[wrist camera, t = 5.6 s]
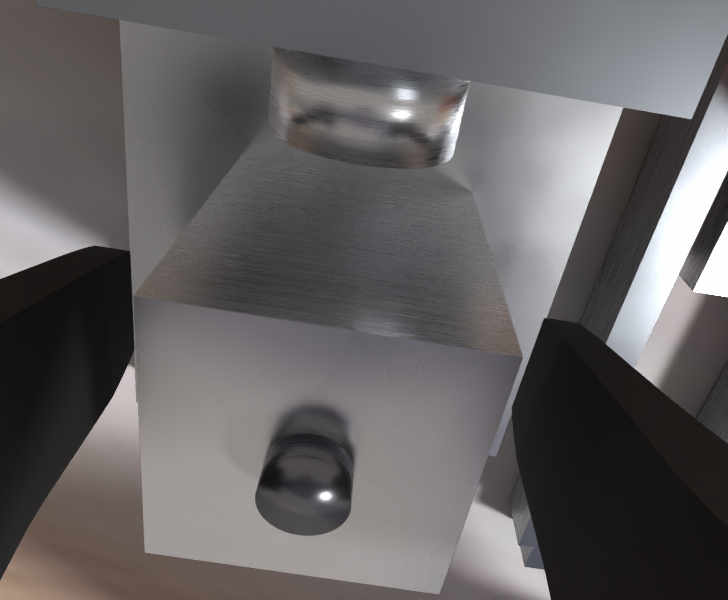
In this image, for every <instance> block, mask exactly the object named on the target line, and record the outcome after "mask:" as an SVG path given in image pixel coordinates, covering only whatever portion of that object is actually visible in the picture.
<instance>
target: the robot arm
mask: <svg viewBox="0 0 728 600" xmlns="http://www.w3.org/2000/svg"><path fill="white" fill-rule="evenodd" d="M134 350H135V346H134V323H133V301H132V278H131V255H130V251H125V250H119V249H113V248H106V247H100V246H91V247H87V248H83V249H80V250H77V251H74V252H71V253H68V254H65V255H63V256H60V257H57V258H54V259H52V260H49V261H46V262H44V263H41V264H39V265H36V266H33V267H31V268H28V269H26V270H23V271H20V272H18V273H15V274H13V275H10V276H7V277H5V278H2V279H0V580H1V578H2V576H3V574H4V572H5V570H6V568H7V566H8V564H9V563H10V561H11V559H12V557H13V555H14V553H15V551H16V549H17V547H18V545H19V543H20V541H21V540H22V538H23V536H24V534H25V532H26V530H27V528H28V526H29V525H30V523H31V521H32V520H33V518H34V516H35V515H36V513H37V511H38V510H39V508H40V506H41V505H42V503H43V501H44V500H45V498H46V497H47V495H48V494H49V492H50V491H51V489H52V488H53V486H54V485H55V483H56V482H57V480H58V479H59V477H60V476H61V474H62V473H63V471H64V470H65V468H66V467H67V465H68V464H69V462H70V461H71V459H72V458H73V456H74V455H75V453H76V452H77V450H78V449H79V447H80V446H81V444H82V443H83V441H84V440H85V438H86V437H87V435H88V434H89V432H90V431H91V429H92V428H93V426H94V425H95V423H96V422H97V420H98V419H99V417H100V416H101V414H102V413H103V411H104V409H105V408H106V406H107V405H108V403H109V402H110V400H111V398H112V397H113V395H114V393H115V391H116V389H117V387H118V385H119V383H120V381H121V379H122V377H123V374H124V372H125V370H126V368H127V366H128V363H129V361H130V359H131V357H132V354H133V352H134ZM512 420H513V431H514V441H515V449H516V458H517V462H518V466H519V470H520V475H521V479H522V483H523V487H524V491H525V495H526V499H527V503H528V507H529V511H530V515H531V518H532V522H533V526H534V530H535V534H536V538H537V542H538V546H539V550H540V554H541V558H542V561H543V565H544V569H545V573H546V578H547V582H548V587H549V592H550V597H551V600H728V443H727V442H725V441H724V440H723V439H721V438H720V437H719V436H717V435H716V434H715V433H713V432H712V431H711V430H709V429H708V428H707V427H705V426H704V425H703V424H702V423H700V422H699V421H698V420H696V419H695V418H694V417H692V416H691V415H690V414H689V413H687V412H686V411H685V410H683V409H682V408H681V407H680V406H679V405H677V404H676V403H675V402H674V401H672V400H671V399H670V398H669V397H667V396H666V395H665V394H664V393H663V392H661V391H660V390H659V389H658V388H657V387H655V386H654V385H653V384H652V383H651V382H650V381H648V380H647V379H646V378H645V377H644V376H642V375H641V374H640V373H639V372H638V371H637V370H635V369H634V368H633V367H632V366H631V365H630V364H628V363H627V362H626V361H625V360H624V359H623V358H622V357H620V356H619V355H618V354H617V353H616V352H615V351H613V350H612V349H611V348H610V347H609V346H608V345H606V344H605V343H604V342H603V341H601V340H600V339H599V338H598V337H597V336H595V335H594V334H593V333H592V332H590V331H589V330H588V329H586V328H585V327H583V326H582V325H580V324H579V323H574V322H568V321H561V320H555V319H549V318H544V319H543V322H542V325H541V328H540V330H539V333H538V336H537V339H536V341H535V344H534V347H533V350H532V352H531V355H530V358H529V361H528V364H527V366H526V369H525V372H524V375H523V377H522V380H521V383H520V386H519V388H518V391H517V394H516V397H515V400H514V402H513V405H512Z"/></svg>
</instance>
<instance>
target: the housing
mask: <svg viewBox="0 0 728 600" xmlns="http://www.w3.org/2000/svg"><path fill="white" fill-rule="evenodd" d="M133 304H134V326H135V348H136V371H137V393H138V415H139V437H140V459H141V481H142V504H143V526H144V548H145V553H151V554H158V555H165V556H172V557H179V558H186V559H193V560H200V561H207V562H214V563H221V564H228V565H235V566H243V567H250V568H257V569H264V570H271V571H278V572H285V573H292V574H299V575H306V576H313V577H320V578H327V579H334V580H341V581H348V582H355V583H362V584H369V585H376V586H383V587H390V588H397V589H404V590H411V591H418V592H425V593H432V594H440V591H441V589H442V586H443V583H444V580H445V577H446V574H447V572H448V569H449V566H450V563H451V560H452V557H453V555H454V552H455V549H456V546H457V543H458V540H459V538H460V535H461V532H462V529H463V526H464V523H465V521H466V518H467V515H468V512H469V509H470V506H471V504H472V501H473V498H474V495H475V492H476V489H477V487H478V484H479V481H480V478H481V475H482V472H483V470H484V467H485V464H486V461H487V458H488V455H489V453H490V450H491V447H492V444H493V441H494V438H495V436H496V433H497V430H498V427H499V424H500V421H501V419H502V416H503V413H504V410H505V407H506V404H507V402H508V399H509V396H510V393H511V390H512V387H513V385H514V382H515V379H516V376H517V373H518V370H519V368H520V365H521V362H522V359H523V355H522V352H521V349H520V345H519V342H518V339H517V336H516V332H515V329H514V326H513V323H512V319H511V316H510V313H509V309H508V306H507V303H506V300H505V296H504V293H503V290H502V287H501V283H500V280H499V277H498V274H497V270H496V267H495V264H494V261H493V257H492V254H491V251H490V248H489V244H488V241H487V238H486V235H485V231H484V228H483V225H482V221H481V218H480V215H479V212H478V208H477V205H476V202H475V199H474V195H473V192H467V191H461V190H455V189H449V188H442V187H436V186H430V185H424V184H418V183H412V182H406V181H400V180H394V179H388V178H382V177H376V176H370V175H364V174H358V173H352V172H346V171H340V170H334V169H328V168H322V167H316V166H310V165H304V164H298V163H292V162H286V161H280V160H273V159H267V158H261V157H255V156H249V155H243V154H242V155H241V156H240V158H239V159H238V160H237V162H236V163H235V164H234V165H233V167H232V168H231V169H230V171H229V172H228V173H227V175H226V176H225V177H224V178H223V180H222V181H221V182H220V184H219V185H218V186H217V188H216V189H215V190H214V191H213V193H212V194H211V195H210V197H209V198H208V199H207V201H206V202H205V203H204V205H203V206H202V207H201V208H200V210H199V211H198V212H197V214H196V215H195V216H194V218H193V219H192V220H191V221H190V223H189V224H188V225H187V227H186V228H185V229H184V231H183V232H182V233H181V234H180V236H179V237H178V238H177V240H176V241H175V242H174V244H173V245H172V246H171V247H170V249H169V250H168V251H167V253H166V254H165V255H164V257H163V258H162V259H161V260H160V262H159V263H158V264H157V266H156V267H155V268H154V270H153V271H152V272H151V274H150V275H149V276H148V277H147V279H146V280H145V281H144V283H143V284H142V285H141V287H140V288H139V289H138V290H137V292H136V293H135V294H134V296H133Z"/></svg>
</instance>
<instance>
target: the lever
mask: <svg viewBox="0 0 728 600" xmlns="http://www.w3.org/2000/svg"><path fill="white" fill-rule="evenodd" d="M679 275H680V277H681V278H682V279H683V280H684V281H685V282H686V284H687V285H688V286H689V287H690V288H691V289H692V290H693V291H694V292H700V293H706V294H712V295H719V296H725V297H728V171H727V173H726V175H725V177H724V179H723V181H722V183H721V186H720V188H719V190H718V192H717V194H716V196H715V198H714V200H713V202H712V205H711V207H710V209H709V211H708V213H707V215H706V217H705V219H704V221H703V224H702V226H701V228H700V230H699V232H698V234H697V236H696V238H695V240H694V243H693V245H692V247H691V249H690V251H689V253H688V255H687V257H686V259H685V262H684V264H683V266H682V268H681V270H680V272H679Z"/></svg>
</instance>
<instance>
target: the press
mask: <svg viewBox="0 0 728 600" xmlns="http://www.w3.org/2000/svg"><path fill="white" fill-rule="evenodd" d="M36 6H42V7H47V8H53V9H59V10H65V11H71V12H76V13H82V14H88V15H94V16H99V17H105V18H111V19H117V20H119V25H120V47H121V70H122V92H123V114H124V136H125V159H126V181H127V203H128V225H129V248H130V255H131V278H132V301H133V296H134V294H135V293H136V292H137V290H138V289H139V288H140V287H141V285H142V284H143V283H144V281H145V280H146V279H147V277H148V276H149V275H150V274H151V272H152V271H153V270H154V268H155V267H156V266H157V264H158V263H159V262H160V260H161V259H162V258H163V257H164V255H165V254H166V253H167V251H168V250H169V249H170V247H171V246H172V245H173V244H174V242H175V241H176V240H177V238H178V237H179V236H180V234H181V233H182V232H183V231H184V229H185V228H186V227H187V225H188V224H189V223H190V221H191V220H192V219H193V218H194V216H195V215H196V214H197V212H198V211H199V210H200V208H201V207H202V206H203V205H204V203H205V202H206V201H207V199H208V198H209V197H210V195H211V194H212V193H213V191H214V190H215V189H216V188H217V186H218V185H219V184H220V182H221V181H222V180H223V178H224V177H225V176H226V175H227V173H228V172H229V171H230V169H231V168H232V167H233V165H234V164H235V163H236V162H237V160H238V159H239V158H240V156H241V155H242V154H243V155H249V156H255V157H261V158H267V159H273V160H280V161H286V162H292V163H298V164H304V165H310V166H316V167H322V168H328V169H334V170H340V171H346V172H352V173H358V174H364V175H370V176H376V177H382V178H388V179H394V180H400V181H406V182H412V183H418V184H424V185H430V186H436V187H442V188H449V189H455V190H461V191H467V192H473V195H474V199H475V202H476V205H477V208H478V212H479V215H480V218H481V221H482V225H483V228H484V231H485V235H486V238H487V241H488V244H489V248H490V251H491V254H492V257H493V261H494V264H495V267H496V270H497V274H498V277H499V280H500V283H501V287H502V290H503V293H504V296H505V300H506V303H507V306H508V309H509V313H510V316H511V319H512V323H513V326H514V329H515V332H516V336H517V339H518V342H519V345H520V349H521V352H522V355H523V359H522V362H521V365H520V368H519V370H518V373H517V376H516V379H515V382H514V385H513V387H512V390H511V393H510V396H509V399H508V402H507V404H506V407H505V410H504V413H503V416H502V419H501V421H500V424H499V427H498V430H497V433H496V436H495V438H494V441H493V444H492V447H491V450H490V453H489V456H495V457H496V456H497V453H498V450H499V447H500V445H501V442H502V439H503V437H504V434H505V431H506V428H507V426H508V423H509V420H510V417H511V415H512V405H513V402H514V400H515V397H516V394H517V391H518V388H519V386H520V383H521V380H522V377H523V375H524V372H525V369H526V366H527V364H528V361H529V358H530V355H531V352H532V350H533V347H534V344H535V341H536V339H537V336H538V333H539V330H540V328H541V325H542V322H543V319H544V318H547V316H548V313H549V310H550V307H551V305H552V302H553V299H554V296H555V294H556V291H557V288H558V286H559V283H560V280H561V277H562V275H563V272H564V269H565V266H566V264H567V261H568V258H569V255H570V253H571V250H572V247H573V244H574V242H575V239H576V236H577V233H578V231H579V228H580V225H581V222H582V220H583V217H584V214H585V211H586V209H587V206H588V203H589V200H590V198H591V195H592V192H593V189H594V187H595V184H596V181H597V178H598V176H599V173H600V170H601V167H602V165H603V162H604V159H605V156H606V154H607V151H608V148H609V145H610V143H611V140H612V137H613V134H614V132H615V129H616V126H617V124H618V121H619V118H620V115H621V113H622V110H623V107H624V108H629V109H635V110H641V111H647V112H652V113H658V114H664V115H663V117H662V120H661V123H660V125H659V128H658V130H657V133H656V135H655V138H654V140H653V143H652V145H651V148H650V150H649V153H648V155H647V158H646V160H645V163H644V165H643V168H642V170H641V173H640V175H639V178H638V180H637V183H636V185H635V188H634V190H633V193H632V195H631V198H630V200H629V203H628V205H627V208H626V210H625V213H624V215H623V218H622V220H621V223H620V225H619V228H618V230H617V233H616V235H615V238H614V240H613V243H612V245H611V248H610V250H609V253H608V255H607V258H606V260H605V263H604V265H603V268H602V270H601V273H600V275H599V278H598V280H597V283H596V285H595V288H594V290H593V293H592V295H591V298H590V300H589V303H588V305H587V308H586V310H585V313H584V315H583V318H582V320H581V323H580V325H582V326H583V327H585V328H586V329H588V330H589V331H590V332H592V333H593V334H594V335H595V336H597V337H598V338H599V339H600V340H601V341H603V342H604V343H605V344H606V345H608V346H609V347H610V348H611V349H612V350H613V351H615V352H616V353H617V354H618V355H619V356H620V357H622V358H623V359H624V360H625V361H626V362H627V363H628V364H630V365H631V366H632V367H633V368H634V367H635V365H636V363H637V361H638V359H639V356H640V354H641V352H642V350H643V348H644V346H645V344H646V342H647V340H648V337H649V335H650V333H651V331H652V329H653V327H654V325H655V323H656V321H657V319H658V316H659V314H660V312H661V310H662V308H663V306H664V304H665V302H666V300H667V297H668V295H669V293H670V291H671V289H672V287H673V285H674V283H675V281H676V278H677V276H678V274H679V272H680V270H681V268H682V266H683V264H684V262H685V259H686V257H687V255H688V253H689V251H690V249H691V247H692V245H693V243H694V240H695V238H696V236H697V234H698V232H699V230H700V228H701V226H702V224H703V221H704V219H705V217H706V215H707V213H708V211H709V209H710V207H711V205H712V202H713V200H714V198H715V196H716V194H717V192H718V190H719V188H720V186H721V183H722V181H723V179H724V177H725V175H726V173H727V171H728V0H36ZM133 323H134V304H133ZM134 346H135V326H134ZM134 359H135V381H136V402H138V393H137V371H136V348H135V350H134ZM696 420H698V421H699V422H700V423H702V424H703V425H704V426H705V427H707V428H708V429H709V430H711V431H712V432H713V433H715V434H716V435H717V436H719V437H720V438H721V439H723V440H724V441H725V442H727V443H728V363H727V365H726V367H725V369H724V370H723V372H722V374H721V376H720V377H719V379H718V381H717V383H716V385H715V386H714V388H713V390H712V392H711V393H710V395H709V397H708V399H707V400H706V402H705V404H704V406H703V407H702V409H701V411H700V413H699V414H698V416H697V418H696ZM509 501H510V506H511V511H512V516H513V521H514V526H515V531H516V536H517V541H518V545H519V546H520V547H521V552H522V557H523V562H524V567H530V568H537V569H544V565H543V561H542V558H541V554H540V550H539V546H538V542H537V538H536V534H535V530H534V526H533V522H532V518H531V515H530V511H529V507H528V503H527V499H526V495H525V491H524V487H523V483H522V479H521V475H519V478H518V480H517V483H516V485H515V488H514V490H513V493H512V495H511V498H510V500H509ZM544 570H545V569H544Z"/></svg>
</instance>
